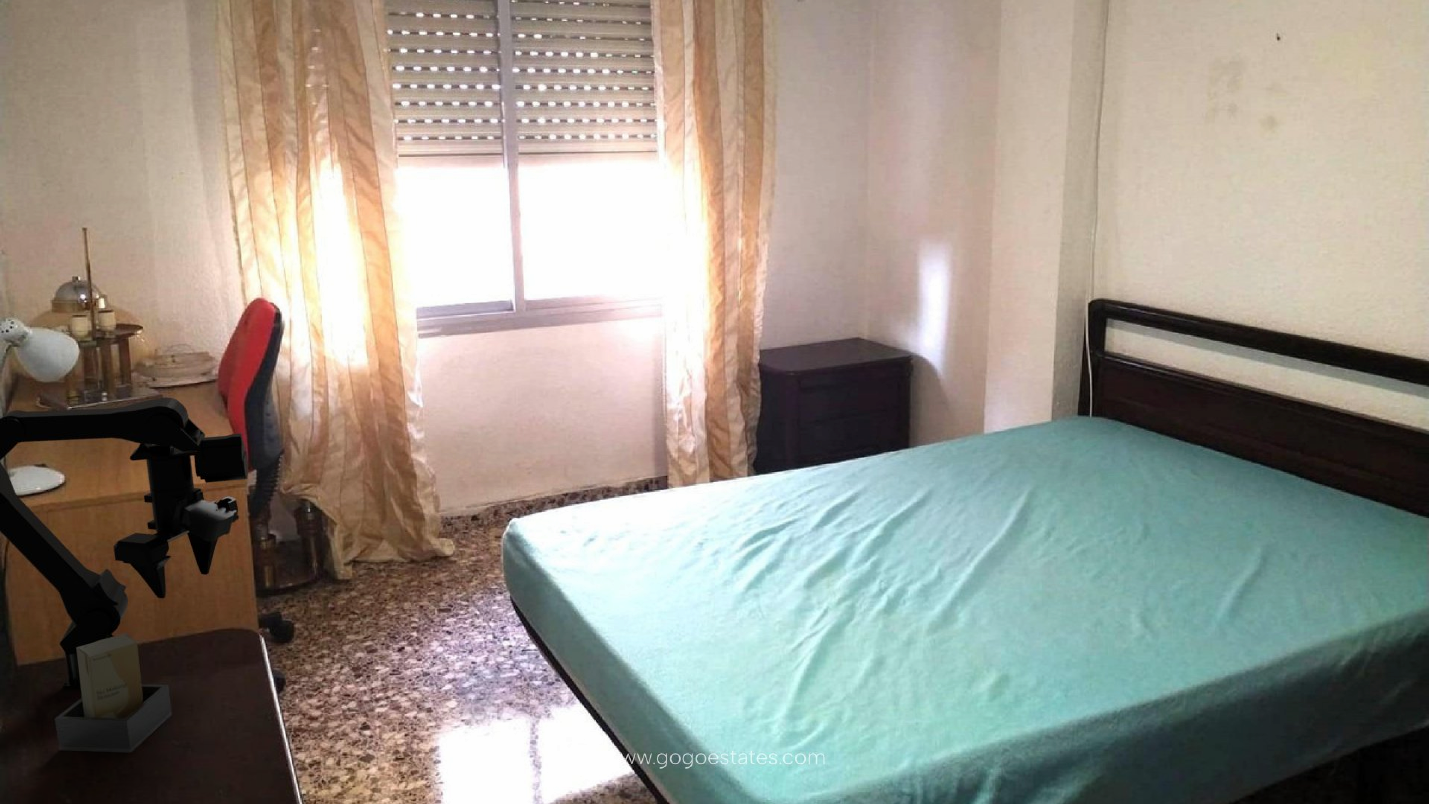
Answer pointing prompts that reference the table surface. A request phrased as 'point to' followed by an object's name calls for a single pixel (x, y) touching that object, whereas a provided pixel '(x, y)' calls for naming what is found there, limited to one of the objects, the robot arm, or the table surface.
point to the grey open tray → (114, 724)
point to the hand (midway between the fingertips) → (183, 585)
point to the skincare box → (110, 677)
